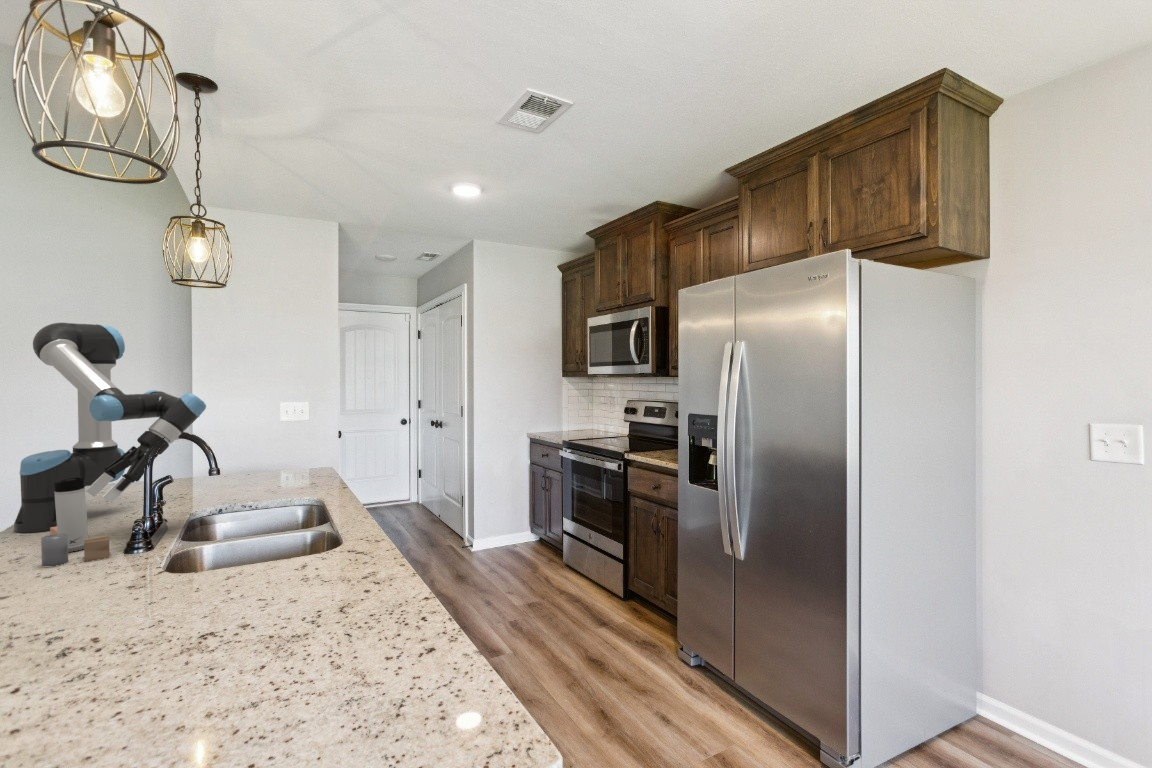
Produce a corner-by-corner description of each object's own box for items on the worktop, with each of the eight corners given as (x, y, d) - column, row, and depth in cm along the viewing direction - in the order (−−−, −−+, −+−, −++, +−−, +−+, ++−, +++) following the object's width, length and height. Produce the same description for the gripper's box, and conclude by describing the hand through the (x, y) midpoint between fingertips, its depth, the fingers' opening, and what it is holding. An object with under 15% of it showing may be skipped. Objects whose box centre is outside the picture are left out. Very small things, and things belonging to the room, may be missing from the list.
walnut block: (84, 557, 150) (84, 538, 150) (109, 553, 153) (108, 535, 153) (84, 562, 146) (83, 543, 146) (109, 558, 149) (109, 539, 149)
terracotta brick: (50, 541, 164) (50, 527, 164) (68, 537, 168) (68, 524, 168) (58, 545, 160) (58, 531, 160) (77, 542, 163) (76, 528, 163)
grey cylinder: (48, 561, 146) (47, 534, 146) (72, 559, 148) (71, 532, 148) (37, 568, 142) (36, 540, 141) (62, 565, 143) (61, 538, 143)
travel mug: (78, 552, 153) (73, 479, 152) (52, 553, 153) (46, 480, 152) (96, 544, 160) (91, 474, 158) (71, 545, 159) (66, 475, 158)
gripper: (187, 448, 166) (127, 510, 154) (152, 442, 180) (94, 498, 168) (165, 431, 161) (101, 494, 149) (131, 427, 175) (70, 484, 163)
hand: (98, 496), depth 158 cm, fingers open, 13 cm apart
